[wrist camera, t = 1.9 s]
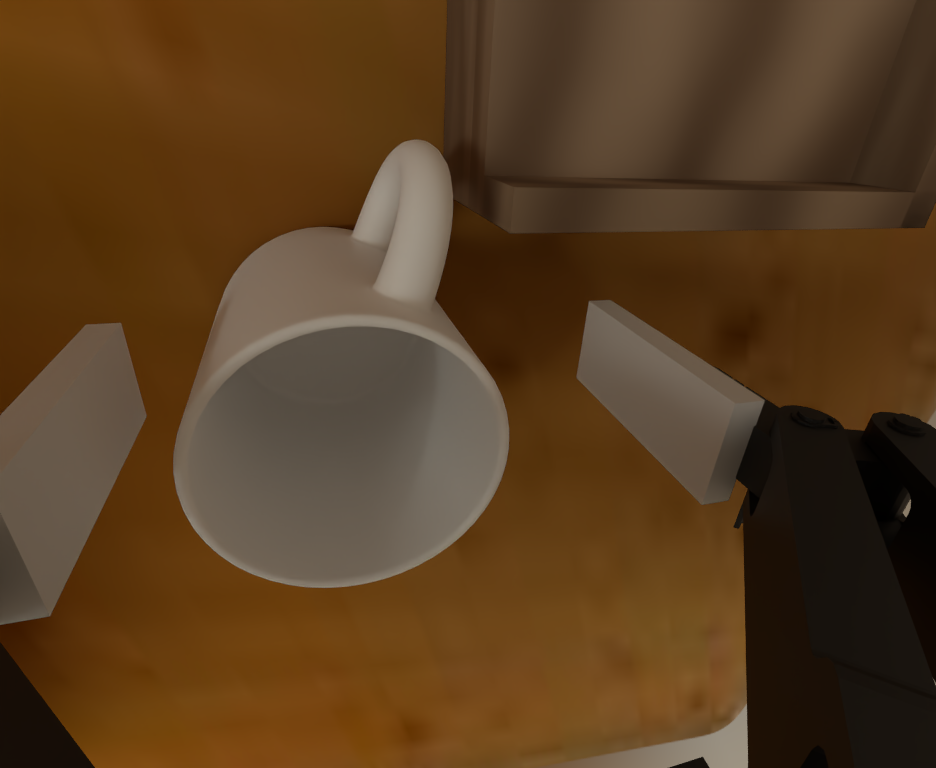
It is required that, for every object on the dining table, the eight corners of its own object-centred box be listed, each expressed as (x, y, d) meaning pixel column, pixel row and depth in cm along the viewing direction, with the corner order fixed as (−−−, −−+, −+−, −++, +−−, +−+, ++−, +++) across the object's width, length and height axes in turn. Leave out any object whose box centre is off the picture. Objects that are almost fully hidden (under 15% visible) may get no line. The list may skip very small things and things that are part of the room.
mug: (284, 76, 18) (282, 55, 9) (493, 180, 21) (636, 237, 12) (197, 382, 21) (137, 575, 13) (386, 425, 25) (439, 599, 16)
